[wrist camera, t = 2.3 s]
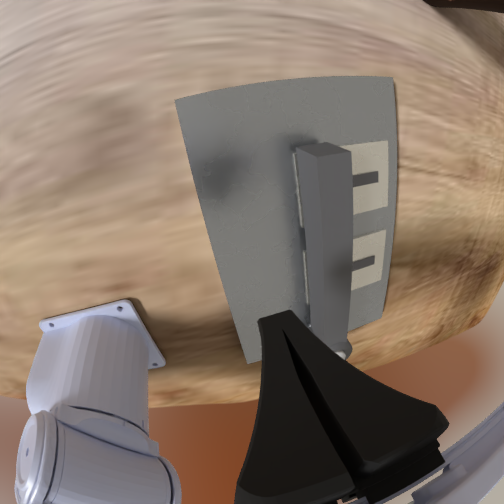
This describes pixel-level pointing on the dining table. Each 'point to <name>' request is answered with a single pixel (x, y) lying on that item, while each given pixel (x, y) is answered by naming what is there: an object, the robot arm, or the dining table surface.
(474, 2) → the coffee mug
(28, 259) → the dining table surface
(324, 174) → the cable arm
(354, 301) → the plate
